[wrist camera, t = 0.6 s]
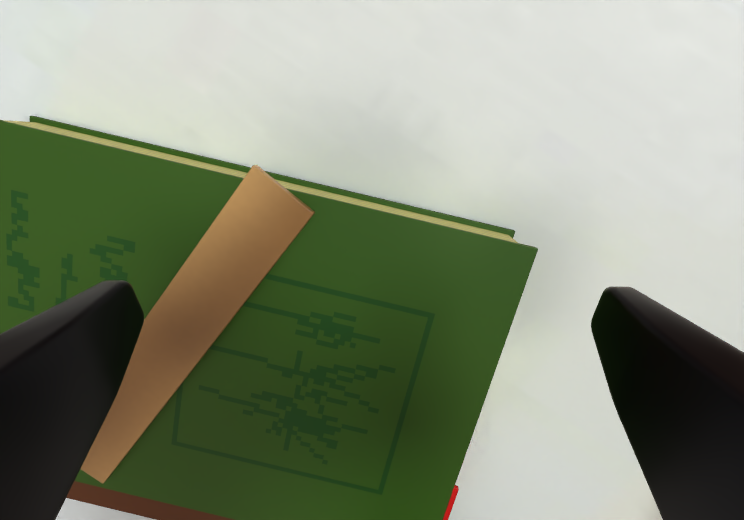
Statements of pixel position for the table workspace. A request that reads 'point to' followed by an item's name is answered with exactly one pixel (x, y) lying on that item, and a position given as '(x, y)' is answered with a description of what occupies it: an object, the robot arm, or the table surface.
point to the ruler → (198, 308)
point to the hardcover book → (272, 331)
